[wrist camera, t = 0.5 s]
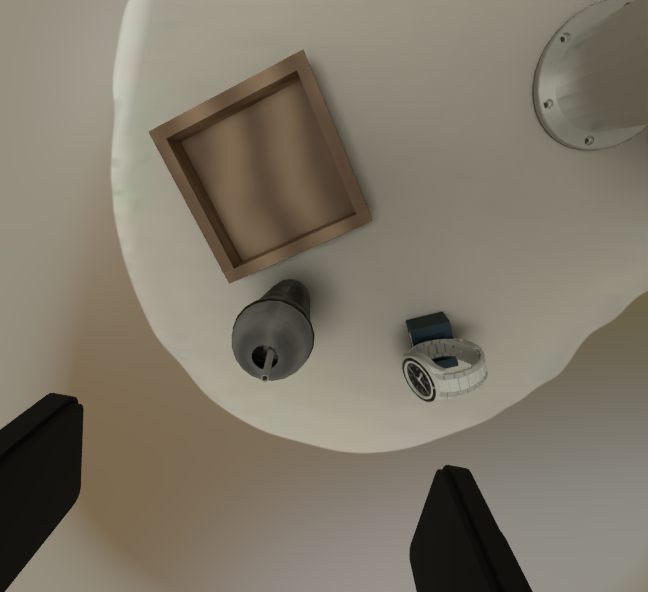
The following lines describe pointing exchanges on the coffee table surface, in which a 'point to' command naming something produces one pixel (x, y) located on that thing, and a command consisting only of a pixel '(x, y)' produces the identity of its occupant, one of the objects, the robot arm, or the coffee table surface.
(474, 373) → the watch
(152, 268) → the coffee table surface
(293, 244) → the walnut tray
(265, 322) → the beverage cup
